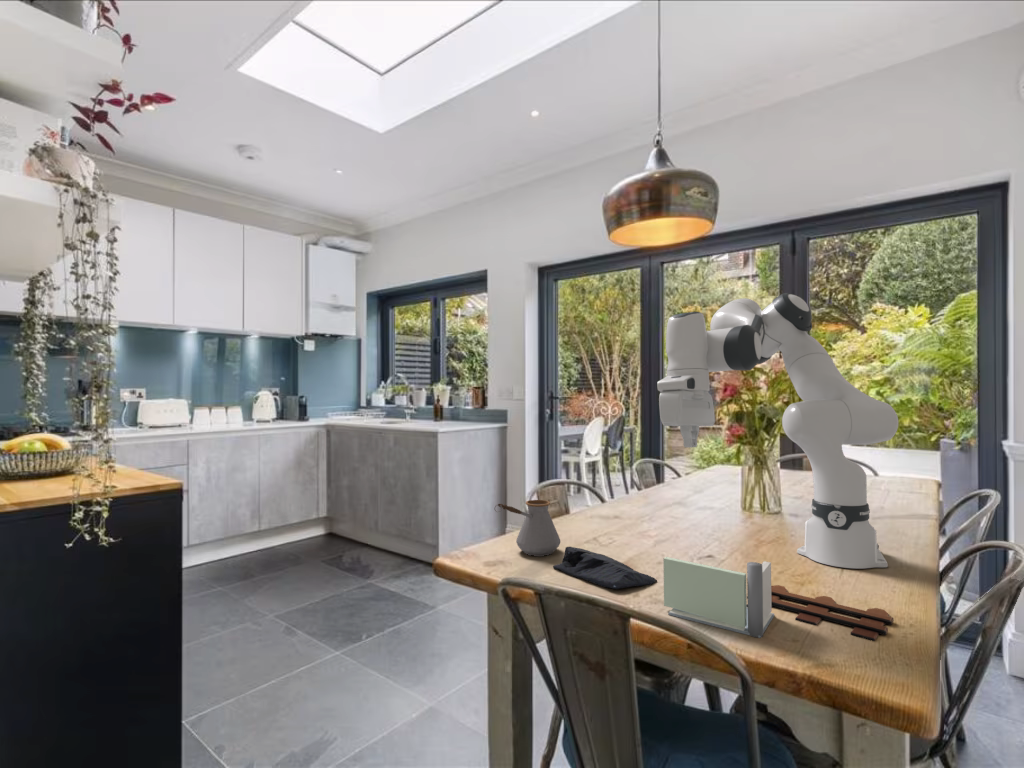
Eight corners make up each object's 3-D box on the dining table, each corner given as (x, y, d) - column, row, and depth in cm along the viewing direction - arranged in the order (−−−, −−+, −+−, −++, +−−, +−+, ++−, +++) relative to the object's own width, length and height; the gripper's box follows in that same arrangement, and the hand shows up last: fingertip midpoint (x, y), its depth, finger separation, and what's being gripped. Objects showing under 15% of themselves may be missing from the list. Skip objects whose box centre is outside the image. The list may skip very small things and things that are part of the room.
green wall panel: (746, 625, 95) (746, 573, 95) (744, 627, 94) (744, 575, 94) (666, 603, 104) (666, 556, 104) (663, 605, 103) (663, 558, 103)
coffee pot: (535, 542, 149) (534, 488, 149) (569, 551, 141) (568, 493, 141) (480, 562, 133) (479, 500, 133) (515, 572, 125) (515, 507, 125)
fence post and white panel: (761, 613, 101) (760, 549, 101) (775, 616, 100) (774, 551, 100) (746, 635, 93) (745, 564, 93) (761, 638, 91) (760, 567, 91)
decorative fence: (882, 648, 89) (898, 619, 100) (882, 637, 89) (898, 609, 100) (740, 609, 105) (767, 587, 116) (740, 600, 105) (767, 579, 116)
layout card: (688, 596, 110) (688, 593, 110) (774, 615, 100) (774, 613, 100) (668, 614, 101) (668, 612, 101) (760, 638, 92) (760, 635, 92)
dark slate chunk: (609, 599, 110) (608, 575, 110) (548, 568, 129) (547, 548, 129) (663, 584, 118) (663, 562, 118) (598, 557, 137) (597, 538, 137)
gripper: (694, 387, 129) (696, 446, 128) (653, 382, 114) (655, 448, 113) (720, 386, 125) (723, 446, 124) (681, 380, 110) (684, 448, 109)
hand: (690, 447), depth 118 cm, fingers closed
